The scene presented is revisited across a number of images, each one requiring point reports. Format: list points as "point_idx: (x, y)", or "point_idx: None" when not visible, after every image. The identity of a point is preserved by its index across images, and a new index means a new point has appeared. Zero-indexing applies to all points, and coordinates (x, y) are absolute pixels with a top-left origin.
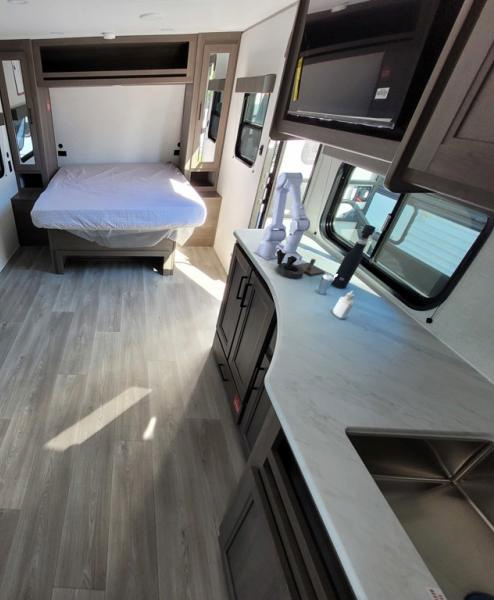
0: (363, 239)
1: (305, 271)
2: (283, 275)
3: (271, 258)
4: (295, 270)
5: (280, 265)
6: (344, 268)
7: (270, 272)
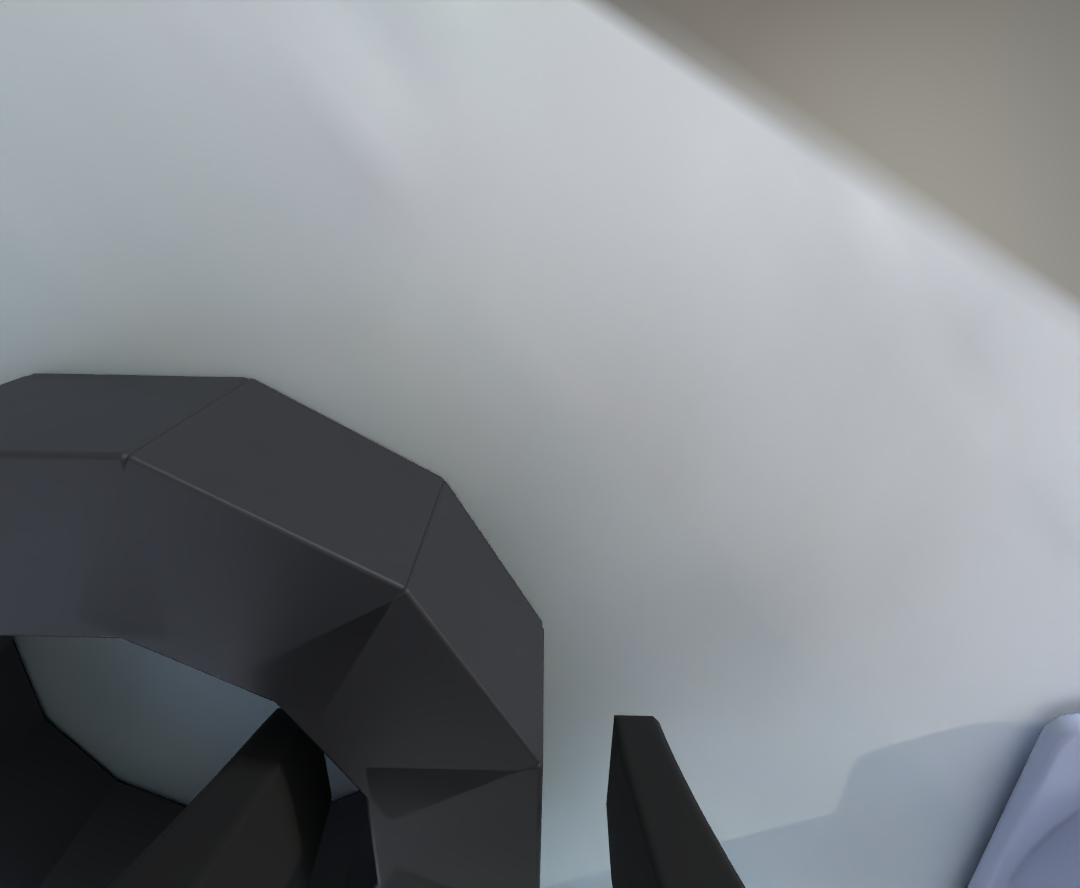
0: None
1: None
2: (4, 386)
3: (1006, 838)
4: None
5: (395, 682)
6: None
7: (375, 140)
